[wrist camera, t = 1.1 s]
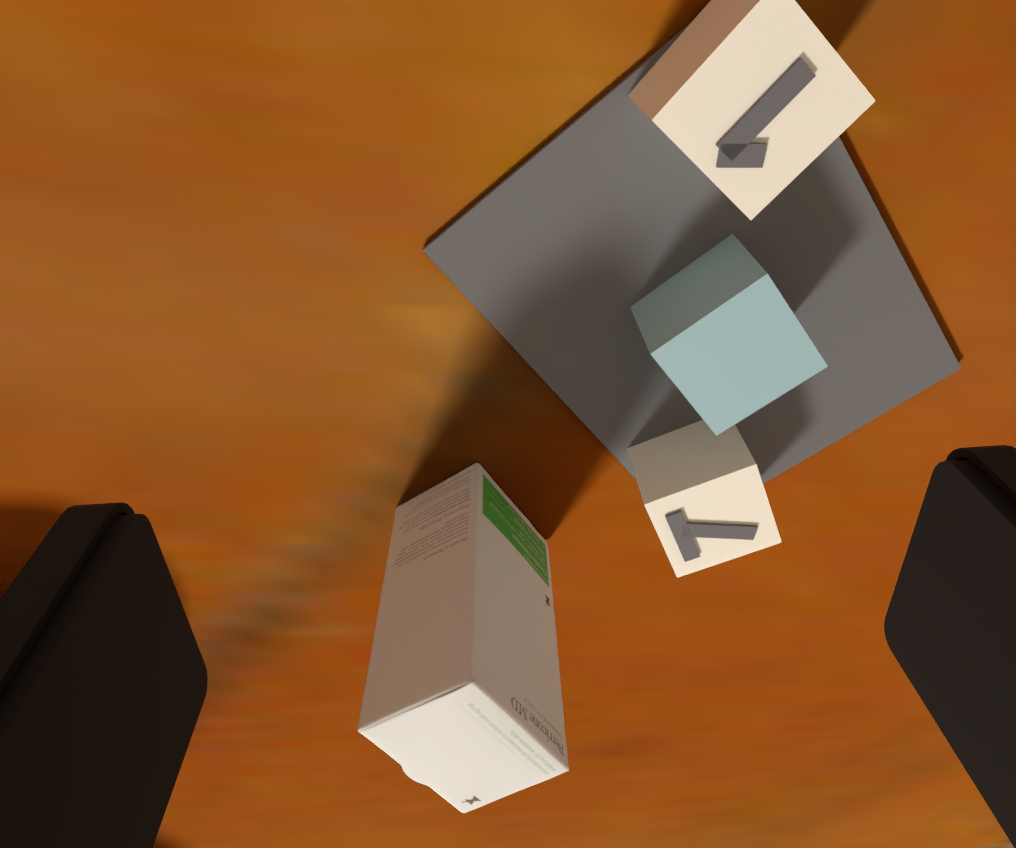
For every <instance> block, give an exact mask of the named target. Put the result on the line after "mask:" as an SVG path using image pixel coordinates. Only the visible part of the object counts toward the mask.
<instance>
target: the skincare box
mask: <svg viewBox="0 0 1016 848" xmlns="http://www.w3.org/2000/svg"><path fill="white" fill-rule="evenodd" d="M358 732H359V733H361V734H362V735H364V736H365V737H367V738H368V739H369V740H370V741H372V742H373V743H374V744H375V745H377V746H378V747H379V748H380V749H382V750H383V751H384V752H386V753H387V754H388V755H389V756H391V757H392V758H393V759H394V760H396V761H397V762H398V763H399V764H401V766H402V769H403V771H404V772H405V774H406V775H407V776H409V777H410V778H411V779H412V780H414V781H416V782H418V783H421V784H424V785H427V786H429V787H430V788H431V789H433V790H434V791H435V792H436V793H438V794H439V795H440V796H441V797H443V798H444V799H445V800H446V801H448V802H449V803H450V804H452V805H453V806H454V807H455V808H457V809H458V810H459V811H460V812H462V813H466V812H469V811H471V810H474V809H476V808H479V807H481V806H483V805H486V804H488V803H491V802H493V801H495V800H498V799H500V798H503V797H505V796H507V795H510V794H512V793H515V792H517V791H520V790H522V789H525V788H527V787H530V786H533V785H535V784H538V783H540V782H543V781H545V780H548V779H550V778H553V777H555V776H557V775H560V774H562V773H564V772H566V771H569V766H568V758H567V747H566V738H565V727H564V715H563V704H562V694H561V682H560V673H559V660H558V651H557V640H556V628H555V617H554V605H553V593H552V583H551V571H550V562H549V549H548V544H547V542H546V540H545V539H544V538H543V537H542V536H541V535H540V534H539V533H538V532H537V531H536V529H535V528H534V527H533V526H532V524H531V523H530V522H529V520H528V519H527V518H526V517H525V516H524V515H523V513H522V512H521V511H520V510H519V509H518V508H517V507H516V506H515V504H514V503H513V502H512V501H511V500H510V499H509V498H508V497H507V495H506V494H505V493H504V492H503V491H502V490H501V489H500V487H499V486H498V485H497V484H496V483H495V482H494V480H493V479H492V478H491V477H490V476H489V474H488V473H487V472H486V471H485V470H484V468H483V467H482V466H481V465H480V464H479V463H475V464H473V465H471V466H469V467H468V468H466V469H464V470H462V471H460V472H459V473H457V474H455V475H453V476H452V477H450V478H448V479H446V480H445V481H443V482H441V483H439V484H437V485H436V486H434V487H432V488H430V489H428V490H427V491H425V492H423V493H421V494H419V495H418V496H416V497H414V498H412V499H411V500H409V501H407V502H405V503H403V504H402V505H400V506H398V507H397V508H396V512H395V518H394V524H393V529H392V535H391V541H390V547H389V553H388V559H387V565H386V571H385V577H384V582H383V588H382V593H381V599H380V605H379V611H378V616H377V622H376V628H375V634H374V640H373V646H372V651H371V657H370V663H369V668H368V674H367V680H366V686H365V691H364V697H363V703H362V708H361V714H360V720H359V725H358Z"/></svg>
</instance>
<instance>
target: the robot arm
mask: <svg viewBox="0 0 1016 848" xmlns="http://www.w3.org/2000/svg"><path fill="white" fill-rule="evenodd" d="M884 630H885V636H886V640H887V643H888V645H889V647H890V649H891V651H892V653H893V654H894V656H895V658H896V659H897V661H898V662H899V664H900V666H901V667H902V669H903V670H904V672H905V674H906V675H907V677H908V678H909V680H910V682H911V683H912V685H913V686H914V688H915V689H916V691H917V693H918V694H919V696H920V697H921V699H922V701H923V702H924V704H925V705H926V707H927V709H928V710H929V712H930V713H931V715H932V717H933V718H934V720H935V721H936V723H937V725H938V726H939V728H940V729H941V731H942V733H943V734H944V736H945V737H946V739H947V741H948V742H949V744H950V745H951V747H952V749H953V750H954V752H955V753H956V755H957V757H958V758H959V760H960V761H961V763H962V765H963V766H964V768H965V769H966V771H967V773H968V774H969V776H970V777H971V779H972V781H973V782H974V784H975V785H976V787H977V789H978V790H979V792H980V793H981V795H982V797H983V798H984V800H985V801H986V803H987V805H988V806H989V808H990V809H991V811H992V813H993V814H994V816H995V817H996V819H997V821H998V822H999V824H1000V825H1001V827H1002V829H1003V830H1004V832H1005V833H1006V835H1007V837H1008V838H1009V840H1010V841H1011V843H1012V845H1013V846H1014V848H1016V448H1014V447H1012V446H1006V445H999V446H984V447H969V448H959V449H956V450H953V451H952V452H951V453H950V454H949V455H948V457H947V459H946V461H943V462H940V463H939V464H938V465H937V466H936V467H935V469H934V471H933V473H932V476H931V479H930V482H929V485H928V488H927V491H926V494H925V497H924V500H923V504H922V507H921V510H920V513H919V516H918V519H917V522H916V525H915V528H914V531H913V534H912V537H911V540H910V543H909V547H908V550H907V553H906V556H905V559H904V562H903V565H902V568H901V571H900V574H899V577H898V580H897V583H896V586H895V590H894V593H893V596H892V599H891V602H890V605H889V608H888V611H887V614H886V617H885V622H884ZM206 691H207V670H206V666H205V663H204V661H203V658H202V655H201V653H200V650H199V648H198V645H197V643H196V640H195V637H194V635H193V632H192V630H191V627H190V624H189V622H188V619H187V617H186V614H185V611H184V609H183V606H182V604H181V601H180V598H179V596H178V593H177V591H176V588H175V586H174V583H173V580H172V578H171V575H170V573H169V570H168V567H167V565H166V562H165V560H164V557H163V554H162V552H161V549H160V547H159V544H158V541H157V539H156V536H155V534H154V531H153V528H152V526H151V523H150V522H149V520H148V518H147V517H146V516H145V515H143V514H135V513H134V511H133V509H132V508H131V507H130V506H129V505H128V504H125V503H106V504H91V505H76V506H72V507H69V508H68V509H67V510H66V511H65V512H64V513H63V514H62V515H61V516H60V518H59V519H58V520H57V522H56V523H55V525H54V526H53V527H52V529H51V530H50V531H49V533H48V534H47V536H46V537H45V538H44V540H43V541H42V542H41V544H40V545H39V546H38V548H37V549H36V551H35V552H34V553H33V555H32V556H31V557H30V559H29V560H28V562H27V563H26V564H25V566H24V567H23V568H22V570H21V571H20V573H19V574H18V575H17V577H16V578H15V579H14V581H13V582H12V584H11V585H10V586H9V588H8V589H7V590H6V592H5V593H4V595H3V596H2V597H1V599H0V848H152V847H153V845H154V842H155V839H156V836H157V833H158V830H159V828H160V825H161V822H162V819H163V816H164V813H165V810H166V808H167V805H168V802H169V799H170V796H171V793H172V790H173V788H174V785H175V782H176V779H177V776H178V773H179V771H180V768H181V765H182V762H183V759H184V756H185V753H186V751H187V748H188V745H189V742H190V739H191V736H192V733H193V731H194V728H195V725H196V722H197V719H198V716H199V714H200V711H201V708H202V705H203V702H204V699H205V695H206Z"/></svg>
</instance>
